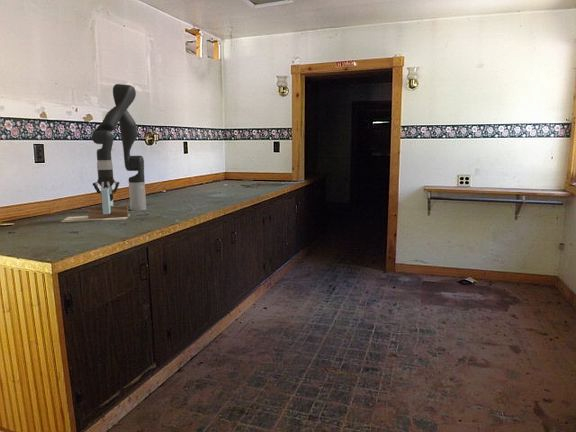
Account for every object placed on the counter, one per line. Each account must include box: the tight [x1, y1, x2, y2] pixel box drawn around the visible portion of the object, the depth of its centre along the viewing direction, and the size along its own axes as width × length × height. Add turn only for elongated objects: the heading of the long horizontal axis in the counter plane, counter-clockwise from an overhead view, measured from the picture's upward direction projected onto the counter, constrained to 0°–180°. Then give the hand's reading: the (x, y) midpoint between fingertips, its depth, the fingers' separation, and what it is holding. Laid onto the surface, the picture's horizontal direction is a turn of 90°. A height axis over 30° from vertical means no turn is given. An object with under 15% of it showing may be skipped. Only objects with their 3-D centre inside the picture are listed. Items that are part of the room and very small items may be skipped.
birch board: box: [60, 213, 131, 223], centre depth 232 cm, size 16×32×1 cm, turn 103°
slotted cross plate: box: [100, 188, 114, 214], centre depth 231 cm, size 14×3×13 cm, turn 13°
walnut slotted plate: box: [87, 205, 129, 219], centre depth 232 cm, size 2×20×6 cm, turn 103°
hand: (107, 200), depth 231 cm, fingers closed on slotted cross plate, 3 cm apart
